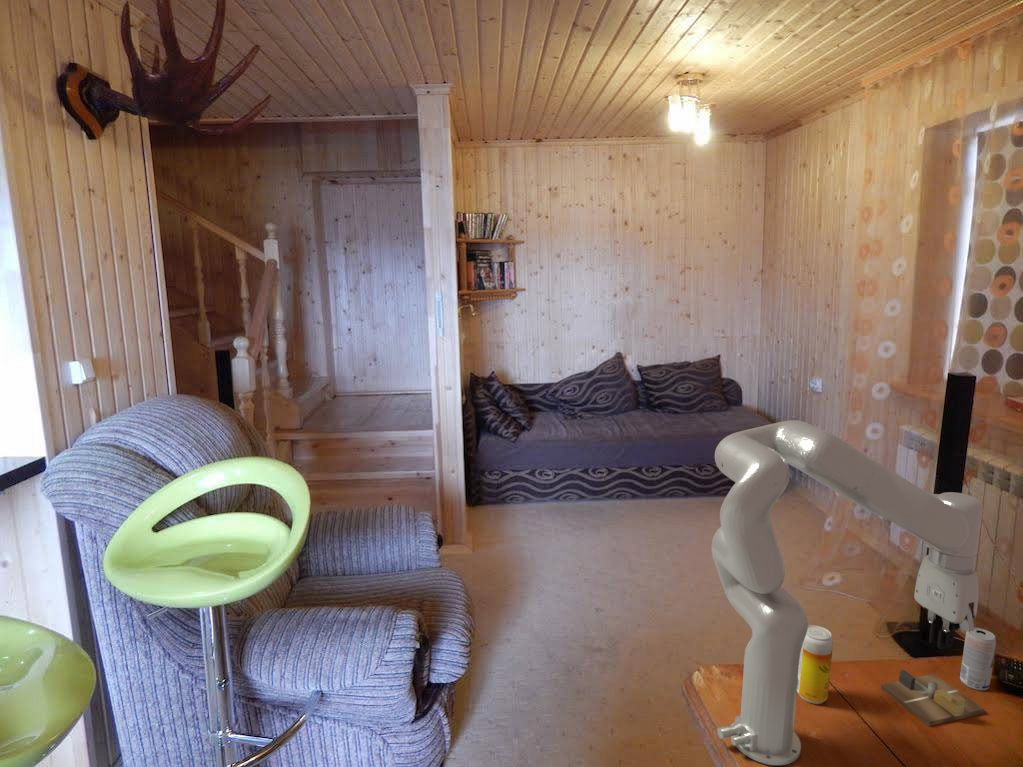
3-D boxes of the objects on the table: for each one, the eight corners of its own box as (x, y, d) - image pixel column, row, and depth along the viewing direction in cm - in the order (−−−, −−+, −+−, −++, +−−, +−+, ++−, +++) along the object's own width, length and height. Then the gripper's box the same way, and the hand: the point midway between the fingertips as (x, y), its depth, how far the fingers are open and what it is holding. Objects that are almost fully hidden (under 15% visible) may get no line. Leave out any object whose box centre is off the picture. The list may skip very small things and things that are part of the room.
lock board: (928, 726, 131) (931, 708, 130) (881, 688, 142) (882, 672, 142) (983, 713, 135) (986, 695, 134) (932, 677, 146) (934, 661, 145)
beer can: (830, 707, 137) (837, 641, 134) (799, 703, 138) (805, 638, 135) (823, 688, 143) (829, 625, 140) (793, 685, 144) (798, 622, 141)
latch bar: (933, 700, 137) (935, 686, 136) (941, 699, 137) (943, 684, 137) (955, 716, 132) (957, 701, 131) (963, 714, 133) (965, 699, 132)
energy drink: (988, 681, 145) (995, 631, 143) (990, 694, 140) (997, 643, 138) (959, 673, 148) (965, 624, 145) (959, 686, 143) (966, 635, 141)
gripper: (902, 543, 132) (892, 626, 136) (973, 579, 117) (961, 671, 121) (932, 539, 134) (922, 621, 137) (1006, 573, 119) (992, 665, 123)
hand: (940, 644), depth 129 cm, fingers closed
